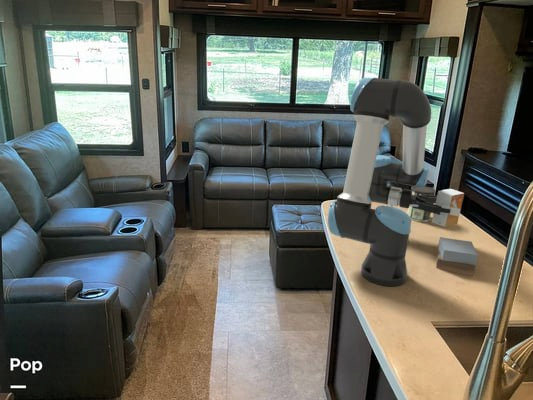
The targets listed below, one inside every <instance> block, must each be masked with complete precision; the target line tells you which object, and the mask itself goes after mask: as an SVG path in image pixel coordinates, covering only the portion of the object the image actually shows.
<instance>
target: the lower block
mask: <svg viewBox="0 0 533 400" xmlns="http://www.w3.org/2000/svg"><path fill="white" fill-rule="evenodd" d="M437 249H438V248H437ZM435 268H436V269H440V270H444V271H449V272H453V273H456V274H457V273H458V274H461V275H465V276H466V275H467V276H471V277H473V276H474V272H475V269H476V265H471V264H464V263H457V262H451V261H444V260H442V258H441V255H440V252H439V249H438V251H437V255H436V265H435Z"/></svg>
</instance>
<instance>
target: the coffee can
mask: <svg viewBox="0 0 533 400" xmlns="http://www.w3.org/2000/svg"><path fill="white" fill-rule="evenodd" d="M410 188H411V189H410V190H412V195H416V194H417V193H420V194H427V195H436V189H434V188H432V187H430V186H426V185H425V186H424V187H419V186H410ZM412 206H413V205H410V206H409V208H407V212H406V214H408V215H409V217H410V218H411V221H415V222H420V223H427V222H429V221H430V220H431V219H430V218H431V214H432V213H431V212H427V211H423V210H420V209H415V208H412Z"/></svg>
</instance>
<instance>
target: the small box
mask: <svg viewBox="0 0 533 400" xmlns="http://www.w3.org/2000/svg"><path fill="white" fill-rule="evenodd" d="M464 197H465V193H464V192H462V191H459V190H456V189H452V188H447V189H442V190H438V192H437V199H436V204H435V205H438V206H441V207H442V206H447V207H453V208H458V209H461V210H462V205H463V201H464ZM459 219H460V215H459V216H455V215H449V214H444V213H441V212H440V215H437V214H434V213H432V219H431V223H433V224H437V225H439V226H442V227H444V228H447V227H450V226H451V227H452V226H454V225H458V222H459Z"/></svg>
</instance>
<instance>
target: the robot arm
mask: <svg viewBox="0 0 533 400" xmlns="http://www.w3.org/2000/svg"><path fill="white" fill-rule="evenodd" d="M349 108H350V112H352V113H353V118H354V121H356V125H355V129H354V130H355V131H354V137H353V141H352V144H351V145H352V146H351V149H350V150H351V152H350V156H349V160H348V165H347V171H346V175H345V181H344V186H343V192H342V193H340V194H339V195H337V198H336V200H332V202H331V203H330V205H329V209H328V213H327V226H328V230H329V232H330V234H333V235H334V236H338V237H340V238H341V239H348V240H352V241H355V242H359V243H360V242H361V243H364V244H368V245H369V250H368V253H367V254H366V256H365V258H364V259H363V262H362V264H361V266H360V267H361V268H360V272H361V275H362V277H364V279H366V280H367V281H369V282H370V283H373V284H376V285H379V286H384V287H399V286H402V285H404V284H405V283H406V282H407V278H408V268H407V261H406V254H407V248H408V245H409V244H408V243H409V237H410V233H411V225H412V220H411V218H410V217H409V215H408V214H407V212H406V211H404V210H402V209H400V208H403V209H408V208H409V206H410V205H413V206H412V208H415V209H420V210H423V211H427V212H431V214H437V215H440V212H441V213H444V214H449V215H455V216H459V217H460V215H461V210H462V208H461V209H458V208H453V207H447V206H442V207H441V206H438V205H435V204H436V199H437V195H438V194H437V195H436V194H434V195H427V194H420V193H417V194H416V195H412V190H411V189H407V188H403V189H402V188H401V187H395V186H389V185H388V184H389V182H391V183H395V184H396V183H398V184H403V185H405V186H406V185H408V186H410V187H412V186H419V187H424V186H426V185H427V182H428V178H429V173H430V171H429V169H428V168H427V167H424V163H425V152H426V150H425V149H426V141H427V132H428V131H427V128H428V125H429V124H430V122H431V119H432V108H431V104H430V100H429V99H428V96H427V95H426V93H425V92H424V91H423V89H422V88H421V87H419V85H417V84H416V83H414V82H411V81H409V80H405V79H402V80H400V79H389V78H380V77H362V78H361V79H360V80H358V82H357V83H356V84H355V86H354V88H353V91H352V93H351V97H350V104H349ZM393 117H394V118H399V119H400V123H401V124H402V126H403V128H402V129H403V131H402V132H403V133H402V139H403V140H402V164H401V163H396V162H392V161H393V160H392V157H390V156H387V155H384V154H378V151H379V146H380V141H381V137H382V132H383V128H384V126H386V125H387V124H388V123H389V122H390V118H393ZM372 203H378V204H381V205H378V206H376V208H374V209H373V208H372V205H373V204H372ZM382 204H383V205H382ZM398 207H400V208H398Z"/></svg>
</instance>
